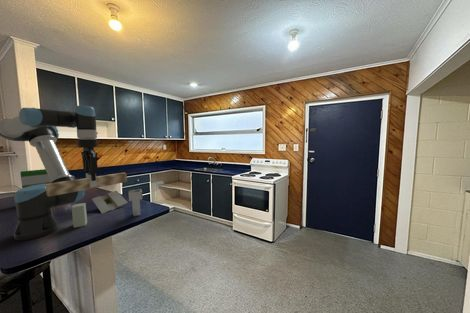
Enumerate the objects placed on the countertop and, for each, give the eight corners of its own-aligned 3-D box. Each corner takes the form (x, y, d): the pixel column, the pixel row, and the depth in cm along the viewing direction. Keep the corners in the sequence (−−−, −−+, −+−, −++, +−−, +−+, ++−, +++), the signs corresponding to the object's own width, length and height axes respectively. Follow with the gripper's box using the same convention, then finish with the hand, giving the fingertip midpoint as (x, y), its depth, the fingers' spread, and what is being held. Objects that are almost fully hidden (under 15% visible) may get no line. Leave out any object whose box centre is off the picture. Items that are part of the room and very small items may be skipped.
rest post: (73, 227, 100) (71, 207, 99) (75, 224, 105) (73, 204, 104) (85, 225, 103) (83, 205, 102) (87, 222, 107) (85, 202, 106)
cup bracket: (130, 217, 112) (128, 193, 110) (130, 213, 118) (128, 190, 117) (143, 215, 115) (142, 191, 114) (142, 211, 122) (141, 188, 120)
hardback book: (24, 206, 133) (20, 172, 131) (24, 204, 138) (20, 171, 136) (59, 200, 146) (55, 169, 144) (57, 198, 151) (54, 168, 149)
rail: (48, 196, 81) (47, 185, 81) (46, 195, 83) (45, 184, 83) (127, 181, 107) (126, 173, 107) (124, 181, 109) (123, 172, 109)
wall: (127, 209, 137) (116, 193, 141) (128, 202, 132) (118, 186, 136) (101, 220, 124) (90, 203, 129) (101, 213, 119) (91, 195, 124)
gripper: (103, 138, 91) (107, 187, 93) (90, 138, 101) (94, 182, 103) (84, 138, 85) (89, 190, 87) (72, 139, 95) (76, 185, 97)
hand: (91, 186), depth 95 cm, fingers closed on rail, 3 cm apart
